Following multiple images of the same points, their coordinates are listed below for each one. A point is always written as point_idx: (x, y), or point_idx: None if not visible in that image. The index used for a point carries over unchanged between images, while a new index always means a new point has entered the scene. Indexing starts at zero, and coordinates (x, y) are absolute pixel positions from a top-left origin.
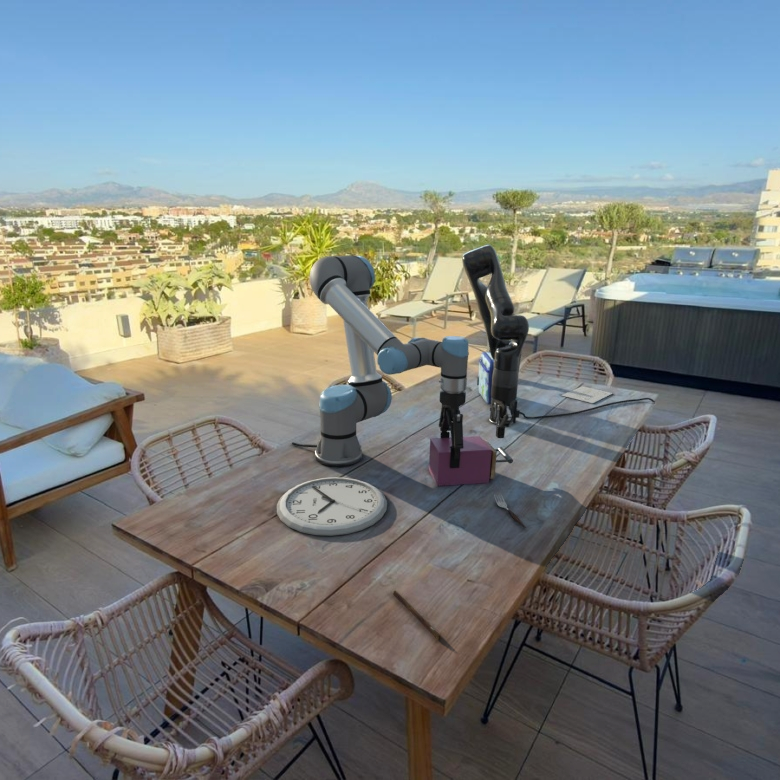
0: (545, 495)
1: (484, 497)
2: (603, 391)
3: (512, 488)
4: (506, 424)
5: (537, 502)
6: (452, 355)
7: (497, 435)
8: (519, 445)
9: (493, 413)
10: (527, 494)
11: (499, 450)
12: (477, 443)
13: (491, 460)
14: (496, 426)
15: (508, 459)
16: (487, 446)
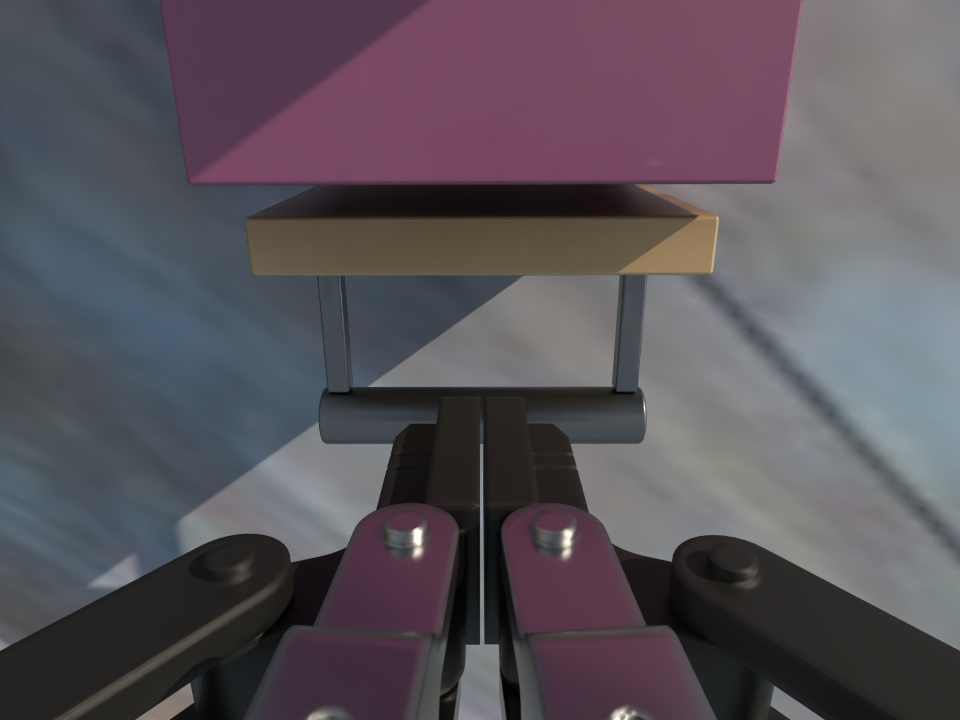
0: (113, 501)
1: (42, 5)
2: None
3: (217, 315)
4: (199, 710)
5: (2, 411)
6: None
7: (439, 411)
8: (945, 639)
9: (921, 676)
10: (121, 389)
11: (595, 394)
12: (462, 17)
13: (315, 198)
14: (535, 489)
15: (330, 400)
16: (316, 158)
